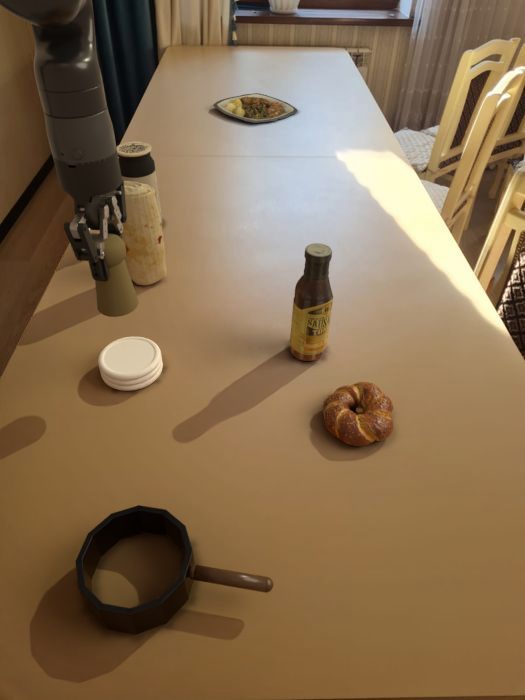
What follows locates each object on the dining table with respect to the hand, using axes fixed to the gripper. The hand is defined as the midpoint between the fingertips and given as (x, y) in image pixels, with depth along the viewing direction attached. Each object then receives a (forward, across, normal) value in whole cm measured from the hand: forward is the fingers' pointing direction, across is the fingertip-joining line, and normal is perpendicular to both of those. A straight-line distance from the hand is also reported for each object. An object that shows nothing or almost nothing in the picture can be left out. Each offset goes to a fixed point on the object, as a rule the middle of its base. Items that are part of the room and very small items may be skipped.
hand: (109, 267), depth 76 cm
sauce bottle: (+20, -10, +28) cm, 36 cm away
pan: (+20, +33, +18) cm, 42 cm away
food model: (+20, -26, -7) cm, 34 cm away
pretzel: (+20, +4, +37) cm, 42 cm away
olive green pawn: (+7, 0, 0) cm, 7 cm away
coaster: (+20, 0, 0) cm, 20 cm away
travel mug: (+20, -47, -14) cm, 53 cm away
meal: (+20, -130, -3) cm, 132 cm away
